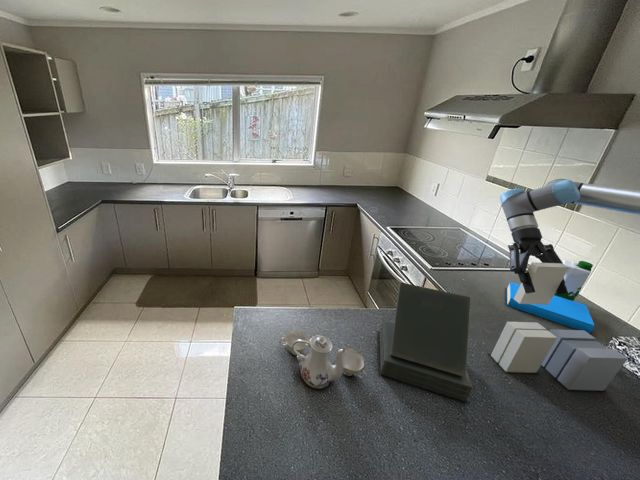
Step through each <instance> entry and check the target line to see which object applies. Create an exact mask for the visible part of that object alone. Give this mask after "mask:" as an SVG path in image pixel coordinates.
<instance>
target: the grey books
mask: <svg viewBox="0 0 640 480" xmlns="http://www.w3.org/2000/svg"><path fill="white" fill-rule="evenodd" d="M549 332H551V333H552V334H553V335H554V336H556V337H557V339H556V341H555V342H554V344H553V346H552V347H551V349H550V351H549V352H548V354H547V356H546V357H545V359H544V361H543V363H542V364H541V366H542V367H543V368H545V370H546V371H547V372H548V373H549V374H550V375H551V376H553V377H554V378H555V379H556V380H557V381H558V382H559V383H560V384H561V385H562V386H563V387H565V388H566V389H567V390H569V391H597V392H598V391H599V392H600V391H603V392H604V391H605V390H606V389H607V387H608V386H609V385H610V383H611V382H612V380H613V379H614V378H615V376H616V375H618V373H619V372H620V370H621V369H622V367H623V366H624V365H625V363H626V362H627V360H628V359H629V358H628V357H627V356H626V355H624V354H622V353H621V352H619V351H618V350H616V349H615V348H608V347H606V346H605V345H604V344H602V343H601V342H599V341H597V340H596V339H597V338H596V337H595V336H594V335H592V334H591V333H590V334H589V333H587V332H586V331H584V330H578V329H552V328H551V329H550V330H549Z"/></svg>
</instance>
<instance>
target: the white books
mask: <svg viewBox="0 0 640 480" xmlns="http://www.w3.org/2000/svg"><path fill="white" fill-rule="evenodd" d="M556 339H557V337H556V336H554V335H553V334H552V333H551V332H550V330H547V328H545V327H544V326H543V325H541V324H540V323H539V322H531V321H506V323H505V326H504V328H503V330H502V332H501V333H500V335H499V338H498V340H497V341H496V344H495V346H494V348H493V350H492V352H491V354H490V357H491V358H492V359H493V360H494V361H495V362H496V363H498V365H499V367H501V368H502V370H504V372H506V373H527V374H528V373H530V374H531V373H533V374H537V372H538V371H539V370H540V368H541V366H542V365H541V364H542V363H543V361H544V359H545V357H546V356H547V354H548V352H549V351H550V349H551V347H552V346H553V344H554V342H555V341H556Z"/></svg>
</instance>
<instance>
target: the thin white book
mask: <svg viewBox="0 0 640 480" xmlns="http://www.w3.org/2000/svg"><path fill="white" fill-rule="evenodd" d="M568 269H569V267H567V266H565V265H563V264H562V263H542V262H531V263H530V264H529V266H528V269H527V270H526V272H529V274H530V277H531V280H532V283H533V286H534V289H535V292H533V293H525V290H524V287H523V284H522V283H521V282H520V284H519V285H520V287H519V289H518V291H517V293H516V295H515V297H514V300H515V301H517V302H518V303H519V304H541V305H549V303H550V301H551V299H552V297H553V296H554V294H555V292H556V290H557V288H558V287H559V285H560V283H561V281H562V279H563V278H564V276H565V274H566V272H567V270H568Z"/></svg>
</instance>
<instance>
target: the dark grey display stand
mask: <svg viewBox="0 0 640 480" xmlns="http://www.w3.org/2000/svg"><path fill="white" fill-rule="evenodd" d="M397 291H398V292H397V299H396V306H395V312H394V313H395V314H394V320H393V321H390V320H386V319H382V323H381V327H380V328H379V329H380V331H379V332H378V333H379V335H378V336H379V361H380V362H379V370H380V372H379V374H380V375H381V376H385V377H388V378H391V379H394V380H397V381H400V382H403V383H406V384H409V385H412V386H415V387H419V388H421V389H425V390H428V391H430V392H434V393H437V394H439V395H440V394H441V395H443V396H446V397H450V398H452V399H456V400H459V401H461V402H467V400H468V398H469V396H470V394H471V391H472V389H473V384H472V381H471V379H470V375H469V373H468V370H467V356H468V355H467V354H468V341H469V340H468V339H469V327H470V326H469V324H470V310H471V309H470V307H471V296H466V295H462V294H456V293H452V292H448V291H442V290H438V289H435V288H434V289H433V288H430V287H424V286H420V285H415V284H411V283H406V282H402V281H401V282H399V283H398V290H397Z"/></svg>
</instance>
